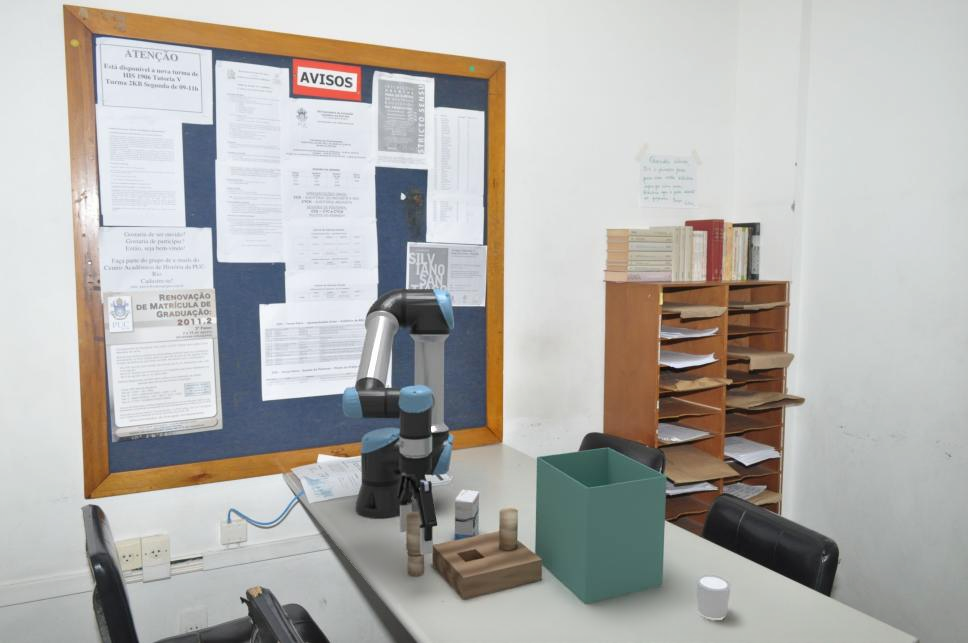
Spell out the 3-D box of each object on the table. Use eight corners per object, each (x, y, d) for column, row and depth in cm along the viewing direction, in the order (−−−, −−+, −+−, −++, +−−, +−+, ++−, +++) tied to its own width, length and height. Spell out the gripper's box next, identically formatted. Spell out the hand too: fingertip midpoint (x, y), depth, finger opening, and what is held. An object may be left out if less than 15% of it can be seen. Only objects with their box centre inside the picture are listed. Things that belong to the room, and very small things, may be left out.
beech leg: (403, 570, 159) (403, 514, 158) (421, 566, 161) (421, 510, 160) (410, 578, 155) (410, 520, 154) (428, 574, 157) (428, 517, 156)
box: (535, 558, 166) (536, 456, 164) (605, 544, 175) (608, 447, 172) (584, 604, 145) (587, 488, 142) (662, 585, 153) (666, 475, 150)
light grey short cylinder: (689, 605, 145) (691, 575, 144) (720, 604, 145) (722, 573, 145) (702, 623, 138) (704, 591, 137) (735, 622, 139) (736, 590, 138)
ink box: (472, 546, 173) (472, 501, 172) (453, 544, 174) (454, 500, 173) (479, 532, 181) (479, 490, 180) (461, 530, 182) (461, 488, 181)
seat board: (432, 564, 162) (432, 509, 161) (504, 548, 171) (505, 496, 170) (463, 599, 146) (463, 538, 145) (541, 580, 155) (542, 522, 154)
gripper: (383, 441, 165) (383, 525, 167) (420, 471, 142) (420, 566, 145) (411, 438, 168) (412, 519, 170) (452, 466, 146) (451, 560, 148)
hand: (415, 541), depth 157 cm, fingers open, 13 cm apart
